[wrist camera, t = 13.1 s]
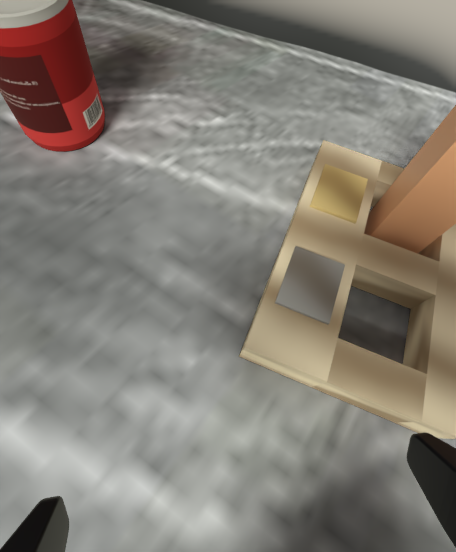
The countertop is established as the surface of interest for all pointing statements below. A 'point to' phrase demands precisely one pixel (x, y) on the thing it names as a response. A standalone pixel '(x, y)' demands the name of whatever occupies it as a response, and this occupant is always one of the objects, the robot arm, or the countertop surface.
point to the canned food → (48, 74)
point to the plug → (420, 195)
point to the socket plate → (371, 278)
